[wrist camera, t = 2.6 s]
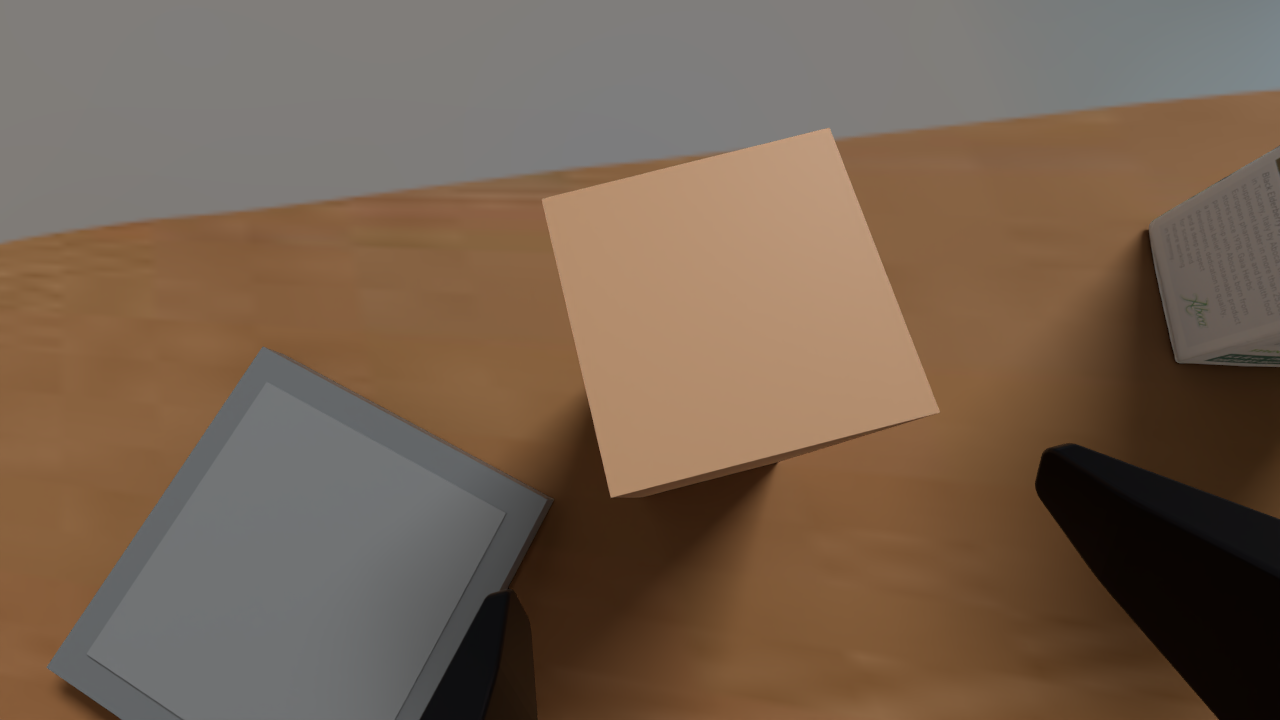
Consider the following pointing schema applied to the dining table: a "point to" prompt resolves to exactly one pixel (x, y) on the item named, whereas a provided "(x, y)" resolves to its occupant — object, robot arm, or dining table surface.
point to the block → (731, 315)
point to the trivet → (301, 564)
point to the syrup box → (1224, 269)
